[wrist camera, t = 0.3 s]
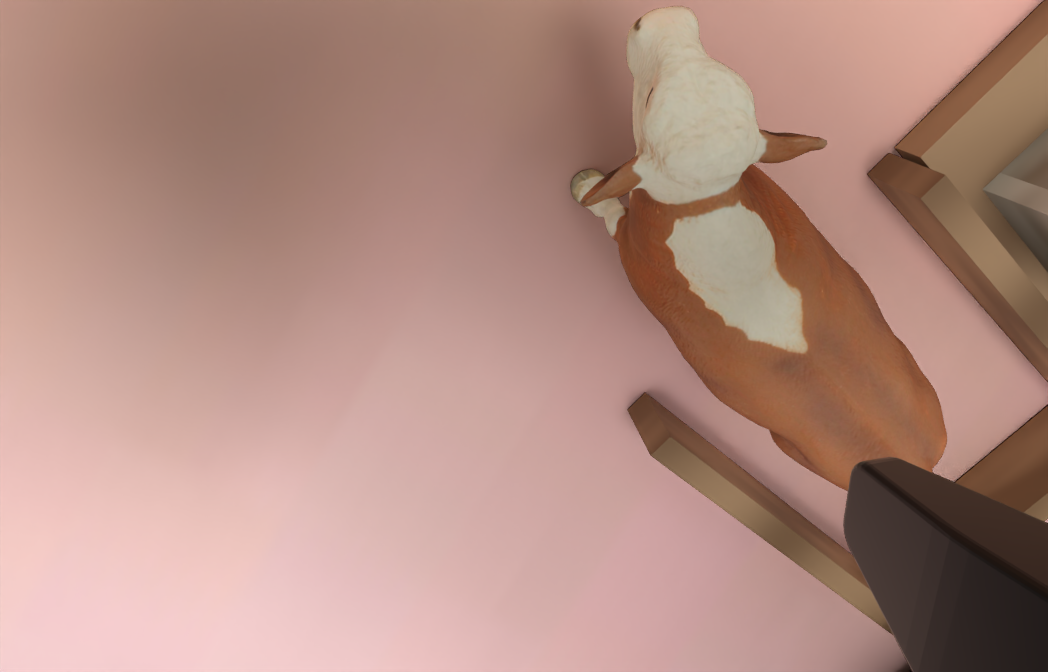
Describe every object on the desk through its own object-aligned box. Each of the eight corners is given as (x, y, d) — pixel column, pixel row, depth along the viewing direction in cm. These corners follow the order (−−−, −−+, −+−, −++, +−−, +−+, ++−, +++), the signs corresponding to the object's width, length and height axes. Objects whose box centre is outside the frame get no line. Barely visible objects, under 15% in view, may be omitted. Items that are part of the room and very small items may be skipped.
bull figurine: (618, -35, 18) (761, -33, 11) (849, 340, 24) (1042, 501, 17) (477, 82, 19) (526, 156, 12) (734, 419, 25) (872, 607, 18)
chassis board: (1277, 243, 25) (1411, 285, 22) (858, 586, 29) (916, 665, 26) (1104, -60, 20) (1245, -64, 17) (627, 409, 24) (663, 481, 21)
